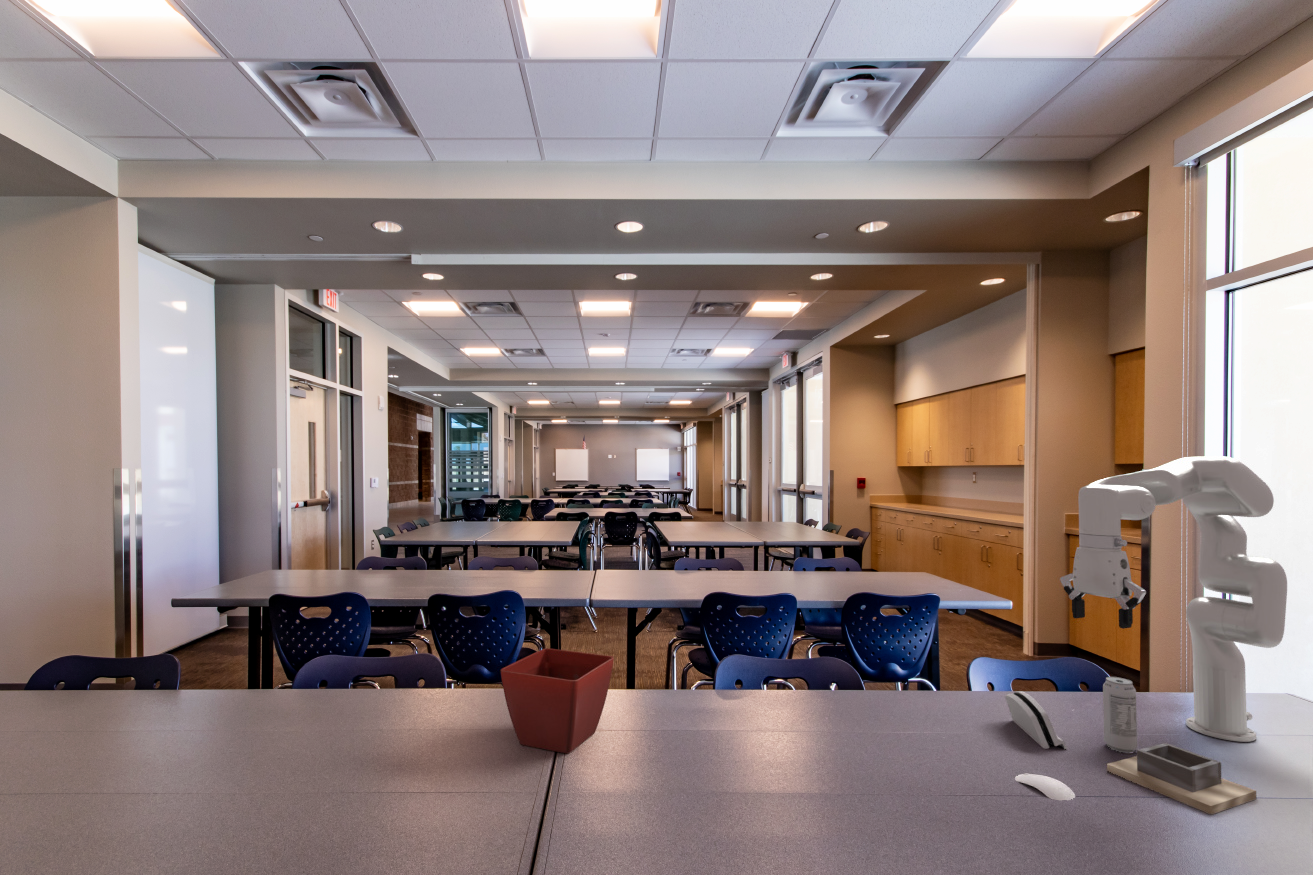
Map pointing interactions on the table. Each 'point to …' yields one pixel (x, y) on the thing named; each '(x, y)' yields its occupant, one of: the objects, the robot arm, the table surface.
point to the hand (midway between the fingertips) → (1101, 622)
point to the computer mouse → (1047, 786)
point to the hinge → (1032, 719)
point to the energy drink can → (1120, 714)
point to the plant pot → (556, 697)
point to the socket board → (1183, 778)
